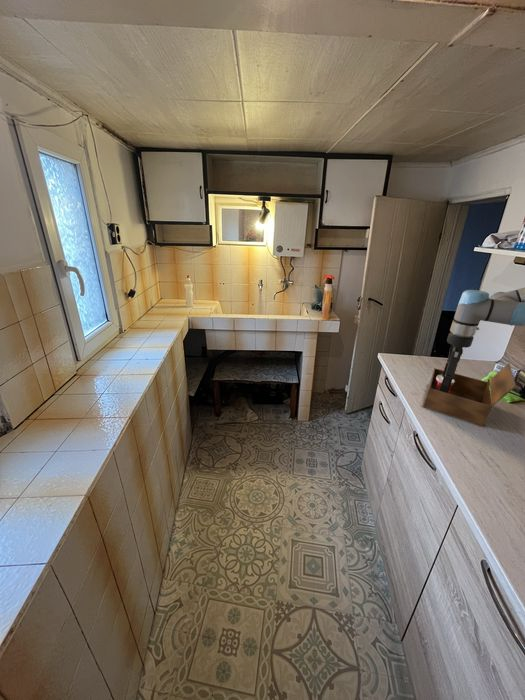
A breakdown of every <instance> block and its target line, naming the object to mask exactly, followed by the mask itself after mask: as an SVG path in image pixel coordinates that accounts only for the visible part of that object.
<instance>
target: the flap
mask: <svg viewBox="0 0 525 700" xmlns="http://www.w3.org/2000/svg"><path fill="white" fill-rule="evenodd" d="M488 381H489V388H490V396H491V404H492V406H495V405H496V404H497V403H498V402H499V401H501V400H502V399H503V398H504V397H505V396H507V395H508V394H509V393H510V392H511V391H513V390H514V389H515V388H516V387H517V384H516V381H515V378H514V374H513V371H512V368H511V363H509V362H508V363H507V364H506V365H504V367H502V368H501V369H500V370H499V371H498V372H497V373H496V374H494V376H492V377H491V378H490V379H489V380H488Z"/></svg>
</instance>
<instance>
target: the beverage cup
mask: <svg viewBox="0 0 525 700" xmlns="http://www.w3.org/2000/svg"><path fill="white" fill-rule="evenodd" d="M443 378H444V377H442V375H437V378H436V383H435V387H434V389H435V390H438V391H439V390H440V387H441V384H442V381H443ZM454 382H455V381H454V379H453V380H452V382H451V385H450V388H449V391H450V389H451V387H452V385H453V384H454ZM449 391H448V393H449Z"/></svg>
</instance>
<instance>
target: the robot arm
mask: <svg viewBox="0 0 525 700" xmlns="http://www.w3.org/2000/svg"><path fill="white" fill-rule="evenodd" d="M481 321H482V322H488V323H489V322H490V323H495V324H500V325H501V324H502V325H506V326H507V325H508V326H511V327H512V326H515V327H524V326H525V287H522V288H518V289H513V290H510V291H509V290H508V291H505V292H504V291H497V292H493V293H492V294H490V293H489V292H487V291H484V290H477V289H466V290H464V291H463V292H462V294H461V296H460V299H459V301H458V303H457V307H456V310H455V313H454V316H453V320H452V323H451V326H450V328H449V331H450V332H449V333H448V336H447V338H446V342H447V344H449V345H451V346H450V347H449V352H448V357H447V359H446V362H445V366H444V369H443V371H444V372H443V375H442V377H444V378H443V381H442V384H441V387H440V390H439V391H442V392H445V393H448V391H449V388H450V385H451V382H452V380H453V379H454V374H456V370H457V367H458V364H459V362H460V360H461V357H462V356H463V352H464V348H471V346H472V345H473V341H474V340H475V339H474V338H475V337H474V336H475V335H476V333H477V331H479V330H480V327H479V325H480V323H481ZM451 375H452V376H451Z"/></svg>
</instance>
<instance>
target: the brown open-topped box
mask: <svg viewBox="0 0 525 700" xmlns="http://www.w3.org/2000/svg"><path fill="white" fill-rule="evenodd" d="M443 372H444V369H439V368H435V367H434V368H433V370H432V374H431V377H430V381H429V383H428V387H427V390H426V394H425V397H424V402H423V404H422V405H423V406H422V407H423V408H425V409H428V410H431V411H434V412H437V413H440V414H444V415H446V416H450V417H452V418H455V419H459V420H462V421H465V422H468V423H471V424H474V425H477V426H479V427H484V425H485V423H486V420H487V419H488V416H489V414H490V412H491V410H492V407H493V405H492V399H491V391H490V383H489V382H488V381H485V380H481V379H478V378H475V377H471V376H466V375H462V374H459V373H455V374H454V381H455V382H454V384H453V385H452V387H451V389H450V391H449V393H445V392H442V391H438V390H435V389H434V387H435V383H436V378H437V375H443ZM451 376H452V375H451Z"/></svg>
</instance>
